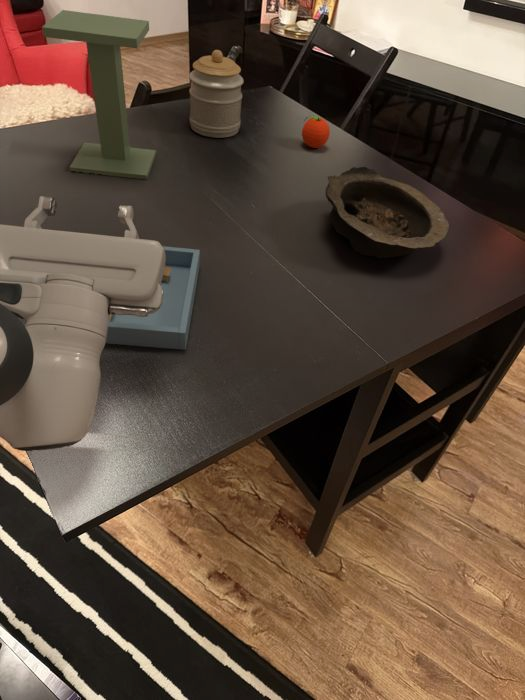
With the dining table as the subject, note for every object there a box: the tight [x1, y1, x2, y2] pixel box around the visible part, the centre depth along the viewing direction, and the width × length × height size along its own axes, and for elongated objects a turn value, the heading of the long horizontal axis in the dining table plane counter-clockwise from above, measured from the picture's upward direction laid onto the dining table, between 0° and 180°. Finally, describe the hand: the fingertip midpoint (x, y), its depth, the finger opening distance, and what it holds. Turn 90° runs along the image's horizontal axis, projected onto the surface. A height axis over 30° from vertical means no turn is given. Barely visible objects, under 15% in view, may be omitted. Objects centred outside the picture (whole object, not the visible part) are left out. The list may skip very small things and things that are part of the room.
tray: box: [105, 245, 201, 351], centre depth 75 cm, size 20×20×4 cm
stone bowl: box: [325, 166, 450, 259], centre depth 93 cm, size 25×25×9 cm
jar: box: [188, 49, 245, 139], centre depth 116 cm, size 13×13×18 cm
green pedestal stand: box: [41, 9, 157, 181], centre depth 96 cm, size 16×12×26 cm
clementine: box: [301, 115, 331, 149], centre depth 119 cm, size 8×7×7 cm
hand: (88, 203), depth 59 cm, fingers open, 8 cm apart
